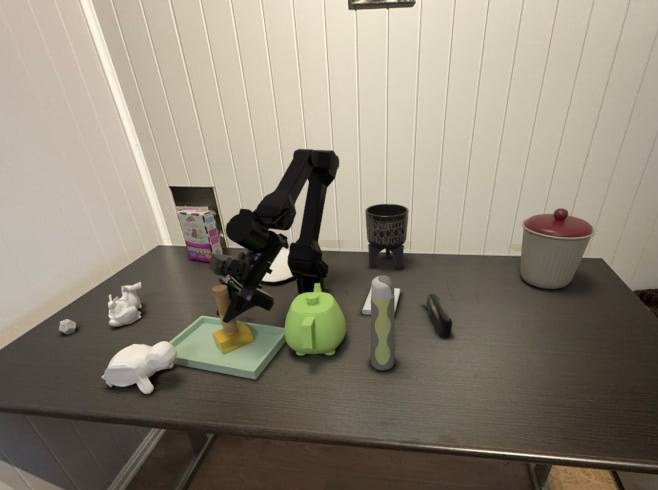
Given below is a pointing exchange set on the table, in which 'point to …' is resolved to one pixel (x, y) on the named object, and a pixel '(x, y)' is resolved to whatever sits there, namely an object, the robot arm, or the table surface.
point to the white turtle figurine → (139, 365)
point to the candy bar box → (200, 233)
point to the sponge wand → (229, 324)
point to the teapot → (314, 323)
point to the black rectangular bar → (439, 315)
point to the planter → (386, 231)
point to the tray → (243, 361)
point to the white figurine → (125, 306)
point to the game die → (67, 326)
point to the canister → (553, 248)
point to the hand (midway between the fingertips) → (221, 318)
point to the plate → (279, 268)
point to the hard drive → (367, 304)
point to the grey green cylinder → (382, 323)
